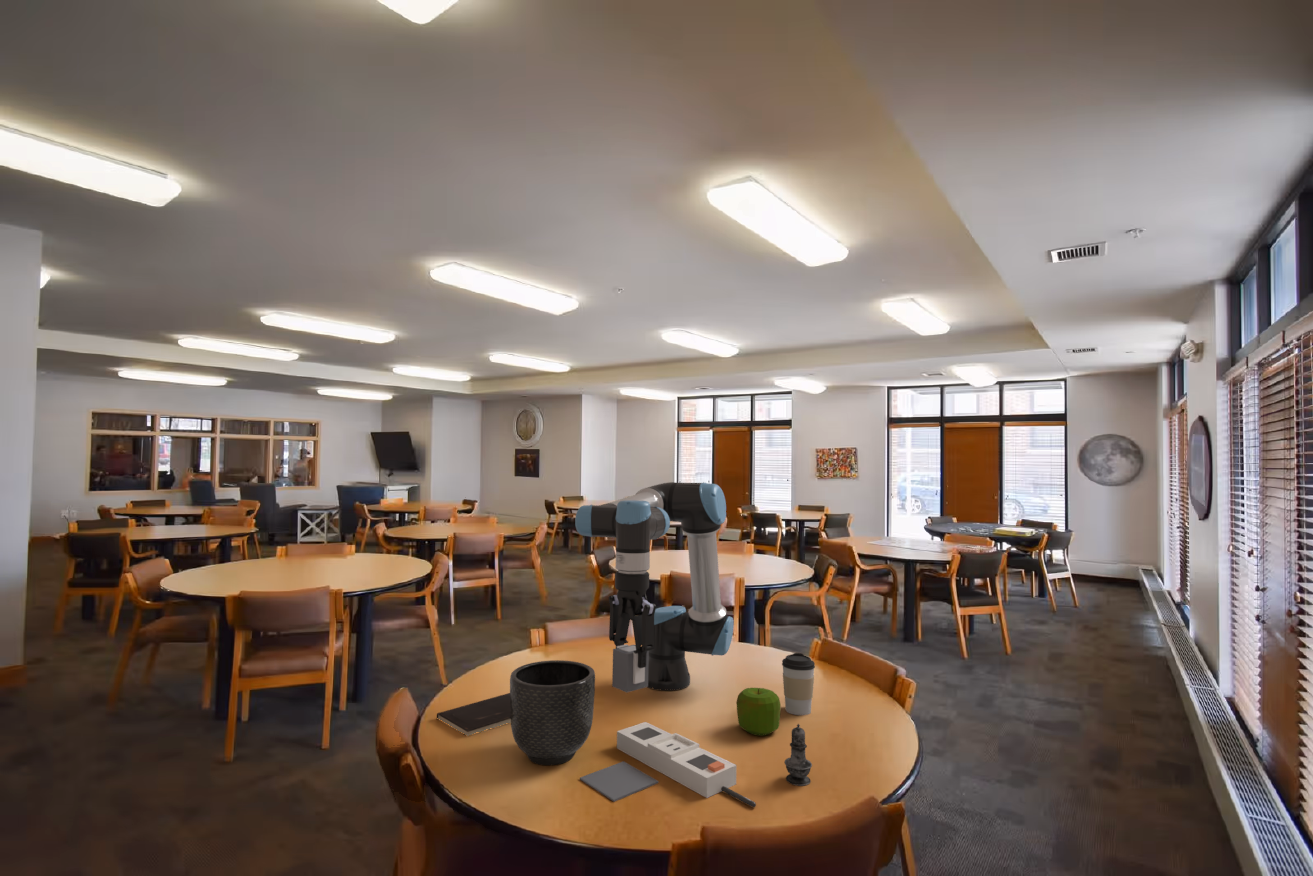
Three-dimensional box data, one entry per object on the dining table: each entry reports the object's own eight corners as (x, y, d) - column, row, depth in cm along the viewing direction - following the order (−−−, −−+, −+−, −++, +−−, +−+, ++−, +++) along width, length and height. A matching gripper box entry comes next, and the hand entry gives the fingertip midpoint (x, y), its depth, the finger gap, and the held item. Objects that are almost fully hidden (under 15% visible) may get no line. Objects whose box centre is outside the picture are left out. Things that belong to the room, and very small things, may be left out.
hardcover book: (543, 715, 174) (543, 706, 174) (467, 740, 158) (467, 730, 158) (510, 699, 185) (511, 691, 186) (436, 721, 169) (436, 712, 169)
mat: (579, 779, 138) (579, 777, 138) (623, 763, 146) (623, 761, 146) (613, 802, 129) (613, 799, 129) (658, 783, 136) (658, 781, 137)
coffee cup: (815, 718, 173) (815, 662, 174) (781, 715, 175) (781, 659, 176) (814, 706, 182) (814, 652, 183) (781, 703, 184) (782, 650, 185)
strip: (616, 748, 153) (617, 727, 153) (645, 738, 159) (645, 718, 159) (740, 816, 124) (740, 791, 124) (769, 801, 130) (769, 777, 130)
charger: (612, 686, 139) (613, 648, 139) (633, 680, 143) (634, 643, 143) (626, 692, 135) (627, 653, 136) (648, 686, 139) (648, 648, 140)
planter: (555, 784, 135) (557, 693, 136) (489, 760, 146) (491, 676, 147) (610, 750, 152) (611, 669, 153) (547, 731, 162) (549, 655, 163)
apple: (782, 725, 168) (783, 683, 169) (776, 742, 158) (776, 697, 158) (741, 719, 172) (741, 678, 172) (732, 735, 162) (732, 691, 162)
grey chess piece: (781, 773, 141) (781, 718, 142) (807, 773, 142) (807, 718, 143) (788, 787, 136) (789, 729, 136) (815, 786, 136) (815, 729, 137)
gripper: (594, 567, 144) (591, 672, 143) (646, 578, 131) (644, 693, 130) (619, 564, 149) (617, 665, 148) (672, 574, 136) (671, 686, 135)
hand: (630, 678), depth 139 cm, fingers closed on charger, 5 cm apart
